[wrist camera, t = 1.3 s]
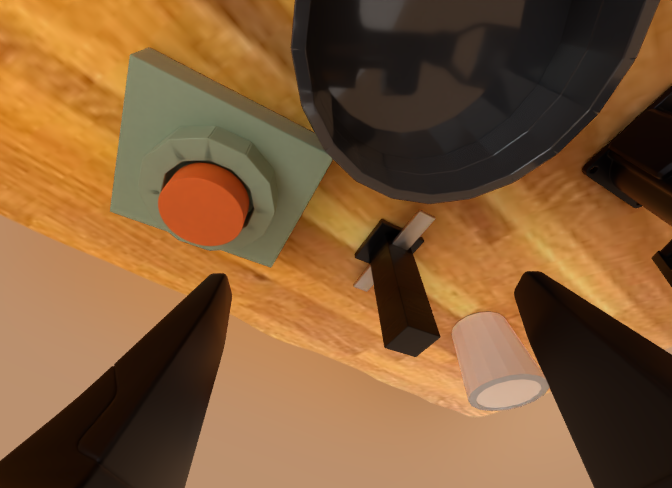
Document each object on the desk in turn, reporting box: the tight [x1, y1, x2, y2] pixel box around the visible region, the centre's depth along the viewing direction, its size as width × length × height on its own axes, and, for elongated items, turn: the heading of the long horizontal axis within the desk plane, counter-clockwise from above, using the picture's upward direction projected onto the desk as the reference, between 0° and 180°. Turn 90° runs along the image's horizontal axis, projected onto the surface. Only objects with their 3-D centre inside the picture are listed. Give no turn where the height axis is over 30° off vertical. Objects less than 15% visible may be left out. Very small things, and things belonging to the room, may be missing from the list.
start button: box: [158, 163, 249, 246], centre depth 18 cm, size 4×4×2 cm
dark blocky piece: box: [353, 209, 440, 357], centre depth 22 cm, size 9×4×9 cm, turn 151°
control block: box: [110, 48, 333, 267], centre depth 20 cm, size 11×10×4 cm
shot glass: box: [452, 312, 549, 411], centre depth 31 cm, size 7×7×7 cm
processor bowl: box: [291, 0, 660, 204], centre depth 15 cm, size 14×14×5 cm
